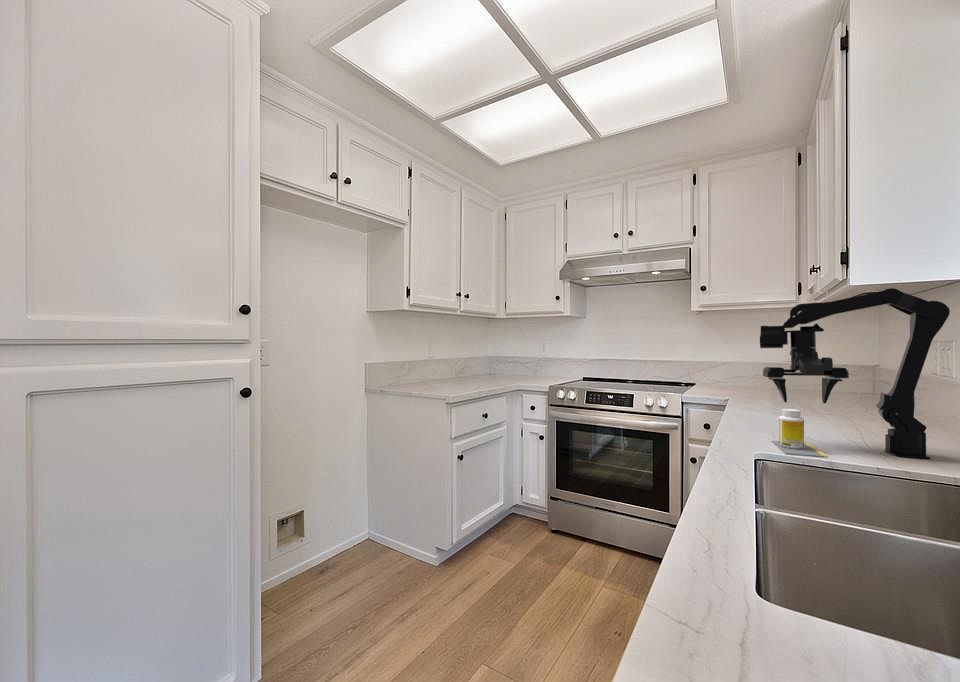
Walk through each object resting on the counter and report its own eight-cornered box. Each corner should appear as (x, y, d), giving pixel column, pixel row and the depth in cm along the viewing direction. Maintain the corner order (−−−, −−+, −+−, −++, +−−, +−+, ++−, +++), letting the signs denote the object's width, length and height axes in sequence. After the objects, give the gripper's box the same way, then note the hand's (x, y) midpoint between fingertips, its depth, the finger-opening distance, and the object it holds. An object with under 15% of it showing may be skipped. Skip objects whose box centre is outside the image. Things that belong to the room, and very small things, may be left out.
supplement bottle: (808, 449, 112) (808, 411, 112) (786, 449, 113) (786, 411, 113) (796, 444, 118) (796, 408, 118) (774, 444, 119) (774, 407, 119)
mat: (808, 444, 120) (808, 442, 120) (827, 457, 106) (827, 455, 106) (771, 441, 123) (771, 440, 123) (785, 454, 109) (785, 452, 109)
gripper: (772, 349, 116) (774, 405, 116) (857, 348, 109) (859, 408, 109) (761, 348, 126) (763, 400, 126) (838, 347, 120) (840, 402, 119)
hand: (804, 402), depth 120 cm, fingers open, 9 cm apart
